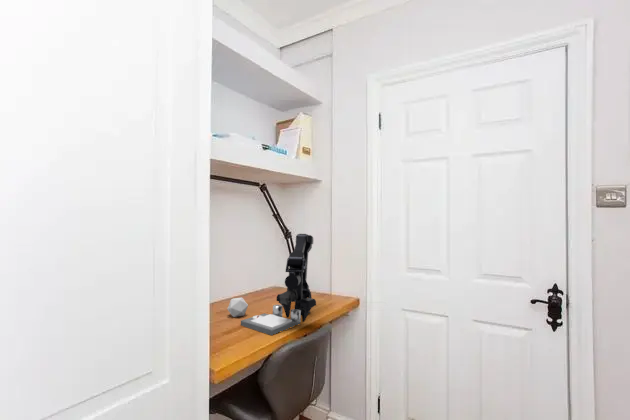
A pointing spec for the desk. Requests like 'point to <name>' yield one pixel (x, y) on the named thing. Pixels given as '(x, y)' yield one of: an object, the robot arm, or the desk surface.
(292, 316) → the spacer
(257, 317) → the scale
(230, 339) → the desk surface
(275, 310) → the spacer
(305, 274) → the robot arm
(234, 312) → the die
